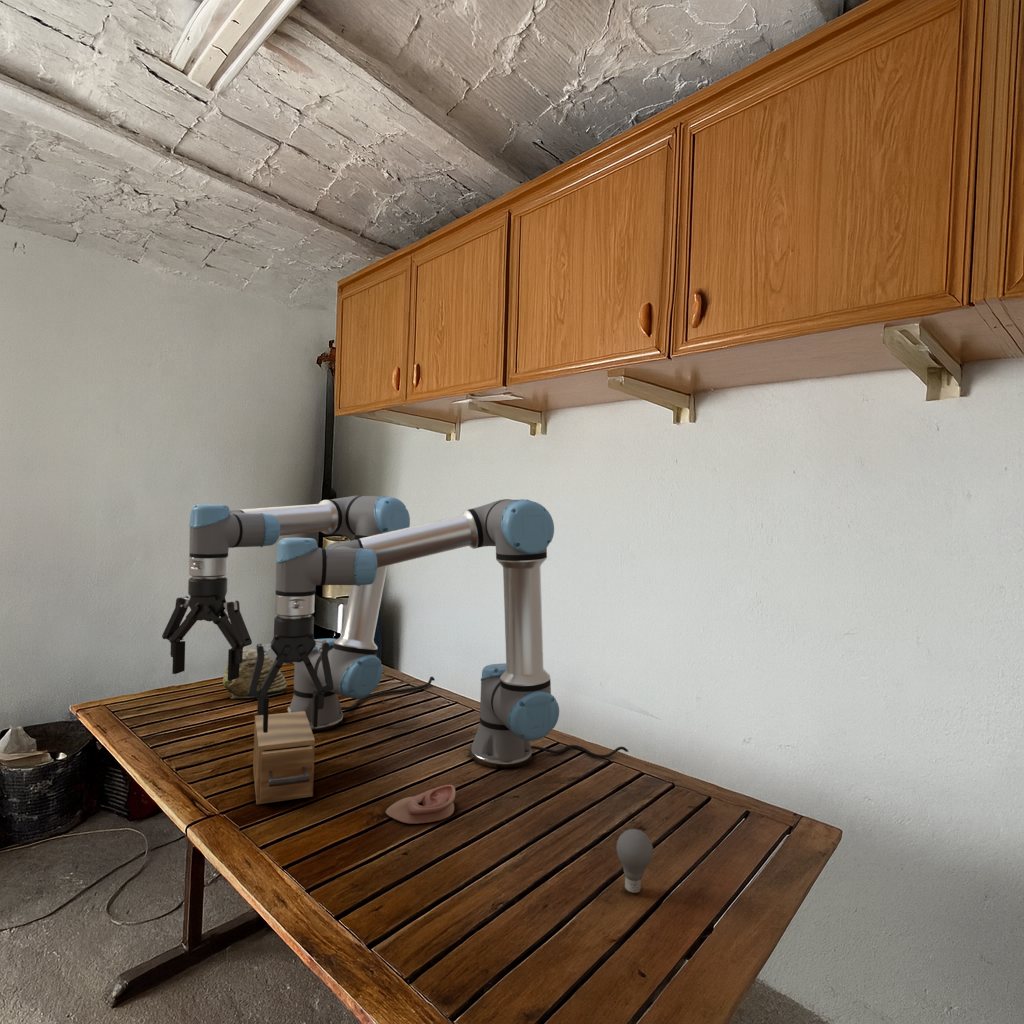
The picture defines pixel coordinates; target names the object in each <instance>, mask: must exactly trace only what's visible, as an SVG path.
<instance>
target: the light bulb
mask: <svg viewBox="0 0 1024 1024" xmlns="http://www.w3.org/2000/svg"><path fill="white" fill-rule="evenodd" d="M615 849H616V854H617V857H618V859H619V861H620V863H621V865H622V867H623V873H624V874H623V875H624V876H625V878H624V888H625V890H627V891H628V892H630V893H634V894H635V893H639V892H640V891H641V889H642V887H641V886H642V879H643V877H644V875H645V871H646V868H647V867H648V866H649V864H650V863H651V861H652V859H653V855H654V847H653V843H652V841H651V838H649V836H648V835H647V834H646V833H645V832H643V831H642V830H641V829H636V828H629V829H627V830H625V831H623V832H622V833H621V834H620V835H619V837H618V839H617V841H616V847H615Z"/></svg>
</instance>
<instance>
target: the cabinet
mask: <svg viewBox="0 0 1024 1024" xmlns="http://www.w3.org/2000/svg"><path fill="white" fill-rule="evenodd" d="M253 730H254V731H253V732H254V733H253V760H252V764H253V765H252V770H253V782H254V794H255V804H256V805H264V804H270V803H271V804H272V803H277V802H284V801H291V800H297V799H298V800H299V799H304V798H309V797H312V798H313V797H314V778H315V777H314V776H315V775H314V774H315V772H314V771H315V750H316V749H315V748H316V739H315V736H314V732H312V730H311V727H310V724H309V721H308V718H307V715H306V713H305V711H302V712H291V713H288V712H281V713H272V714H268V732H267V733H263V715H254V728H253ZM299 746H307V747H310V746H312V747H313V758H312V784H311V796H306V797H299V798H292V799H286V800H279V801H272V802H265V803H260V784H261V757H262V752H264V750H272V749H281V748H290V747H299Z"/></svg>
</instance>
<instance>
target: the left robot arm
mask: <svg viewBox="0 0 1024 1024" xmlns="http://www.w3.org/2000/svg"><path fill="white" fill-rule="evenodd" d="M189 516H190V517H189V523H188V527H189V549H188V550H189V551H188V552H189V555H188V576H190V577H189V578H188V583H187V584H188V585H187V591H188V592H187V595H188V596H186V595H185V596H180V597H177V598H176V599H175V606H174V609H173V611H172V613H171V616H170V618H169V619H168V622H167V624H166V626H165V628H164V630H163V632H162V634H161V638H162V639H163V640H167V641H169V644H170V653H169V654H170V657H171V658H172V668H171V669H172V673H171V674H172V675H177V674H180V673H183V672H185V669H186V641H185V640H184V638H185V637H186V635H187V634H188V633H189V631H191V629H192V628H193V626H194V625H195V624H196V623H197V622H198V621H205V622H212V623H213V624H214V625H216V627H218V629H219V631H220V632H221V634H222V635H223V636H224V638H225V640H226V641H227V642H228V644H229V646H230V647H231V648H229V649H228V650H227V651H228V654H227V655H228V656H227V662H228V681H232V680H234V679H236V678H239V664H240V663H242V660H243V648H244V647H248V646H251V645H252V644H253V641H252V638H251V635H250V632H249V630H248V628H247V625H246V623H245V621H244V617H243V615H242V613H241V609H240V608H241V606H240V601H239V600H232V601H227V600H226V596H227V593H228V578H227V577H226V576H227V575H228V574H229V550H230V549H234V548H254V547H256V548H257V547H260V548H264V547H268V546H270V547H271V546H273V545H275V544H276V543H277V542H278V541H279V539H280V537H282V536H283V537H284V536H292V535H300V534H310V533H311V534H312V533H318V532H319V533H323V534H324V535H335V534H336V535H346V536H352V537H354V539H353V540H357V539H360V538H365V537H369V536H373V535H378V534H382V533H387V532H391V531H395V530H400V529H404V528H409V527H411V517H410V513H409V510H408V509H407V506H406V505H405V503H404V502H403V501H402V500H401V499H398V498H397V497H392V496H385V495H381V496H380V495H379V496H378V495H351V496H345V497H339V498H333V499H332V498H331V499H323V500H321V501H319V502H318V503H314V504H313V503H312V504H299V505H298V504H297V505H286V506H285V505H284V506H272V507H271V506H269V507H258V508H244V509H243V508H241V509H230V506H228V505H226V504H214V503H213V504H211V503H209V504H208V503H207V504H205V503H198V504H193V506H192V507H191V509H190V515H189ZM387 570H388V566H384V567H380V568H377V575H376V579H375V581H374V583H372V584H370V585H360V586H357V585H350V590H349V594H348V599H347V604H346V609H345V615H344V619H343V625H342V629H341V635H340V636H339V637H338V638H331V637H329V638H317V639H316V638H314V640H315V641H321V642H322V641H324V640H326V641H327V642H328V644H329V650H328V658H329V664H330V669H331V675H332V680H333V686H334V688H333V690H329V691H327V692H325V694H324V707H323V709H318V723H317V727H315V728H313V725H312V706H313V692H314V691H317V689H316V687H315V684H314V682H313V680H312V678H311V676H310V674H309V672H308V670H307V668H306V666H305V664H304V662H303V661H301V662H294V670H293V671H294V672H293V695H292V696H293V697H292V699H291V702H290V704H289V706H288V707H287V713H291V712H302V711H305V713H306V715H307V718H308V721H309V724H310V727H311V730H312V733H316V732H325V731H329V730H332V729H335V728H337V727H339V726H340V725H342V723H343V722H344V714H343V711H351V710H353V709H354V708H356V707H357V706H358V705H359V703H361V702H363V701H366V700H367V699H371V698H374V697H375V698H376V697H380V696H383V695H390V694H397V693H406V692H412V691H417V690H421V689H424V688H427V687H429V686H430V685H431V684H432V682H434V681H436V679H435V678H434V676H430V677H429V679H428V681H427V683H425V684H422V685H417V686H413V687H412V686H411V687H406V688H400V689H391V690H384V691H379V692H375V693H372V692H374V691H375V690H376V688H377V687H378V686H379V685H380V682H381V680H382V677H383V673H384V672H383V671H384V668H383V667H384V666H383V664H382V661H381V659H380V658H379V657H378V656H377V654H378V645H377V644H376V643H375V640H374V639H375V636H376V635H375V633H376V628H377V624H378V619H379V612H380V607H381V602H382V597H383V592H384V587H385V583H386V582H385V580H386V576H387V572H388V571H387ZM188 608H189V609H190V610H189V612H188V613H187V611H188ZM186 613H187V614H186ZM185 615H186V616H185ZM184 617H185V619H184ZM183 619H184V620H183ZM308 657H309V659H310V661H311V663H312V666H313V668H314V670H315V672H316V674H317V676H318V678H319V680H320V682H321V684H322V685H323V684H325V683H326V682H325V677H324V671H323V666H322V661H321V655H320V652H318V650H317V647H314V648H313V650H312V651H311V652H310V654H309V655H308ZM339 695H340V696H342V697H345V698H350V699H355V700H356V701H355V702H354V703H353V704H352V705H349V706H341V702H340V699H339Z"/></svg>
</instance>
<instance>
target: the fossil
mask: <svg viewBox="0 0 1024 1024" xmlns="http://www.w3.org/2000/svg"><path fill="white" fill-rule="evenodd" d="M256 659H257V648H251V647H248V646H245V647H244V648H243V660H242V663H240V664H239V678H236V679H234V680H232V681H228V661H227V663H226V666H225V668H224V671H223V675H222V676H223V677H222V685H223V687H224V688H225V690H226V691H228V693H229V698H230V699H250V698H253V697H250V696H249V693H248V689H249V685H250V682H251V678H252V674H253V670H254V666H255V663H256ZM274 661H275V660H273V659H272V658H271V657H270V656H269V654H267V655H266V656H264V663H263V666H262V670H261V674H260V678H259V682H258V685H257V689H260V687H261V686H262V684H263V682H264V680H265V678H266V676H267V674H268V673H269V671H270V669H271V667H272V665H273V663H274ZM287 687H288V686H287V680H286V678H285V676H284V674H283V673H282V672H281V669H280V670H279V672H278V673H277V675H276V677H275V679H274V681H273V683H272V685H271V687H270V688H269V690H268V692H267V694H266V695H268V697H271V696H275V695H281V694H284V693H285V691H286V689H287Z"/></svg>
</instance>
